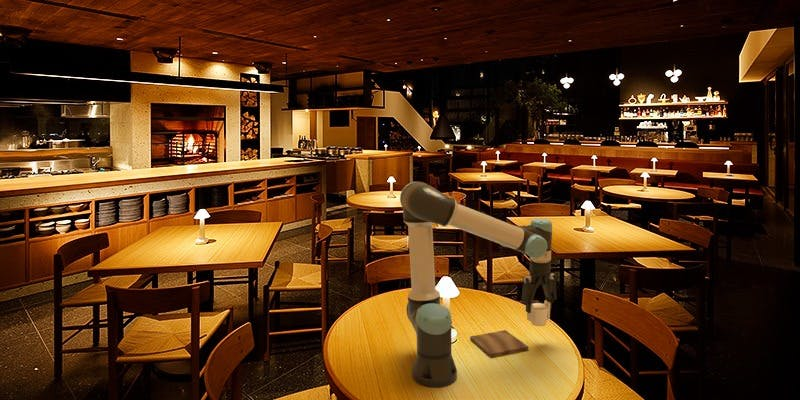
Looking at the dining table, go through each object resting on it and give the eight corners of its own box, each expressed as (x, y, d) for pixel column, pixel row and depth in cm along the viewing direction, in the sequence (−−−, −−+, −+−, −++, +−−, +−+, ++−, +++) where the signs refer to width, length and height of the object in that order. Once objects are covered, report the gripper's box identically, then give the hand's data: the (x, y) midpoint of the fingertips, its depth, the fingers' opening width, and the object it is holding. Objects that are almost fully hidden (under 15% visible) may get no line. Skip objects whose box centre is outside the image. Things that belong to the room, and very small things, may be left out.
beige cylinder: (549, 327, 174) (549, 309, 173) (530, 326, 175) (529, 308, 174) (547, 320, 180) (547, 302, 179) (528, 319, 182) (528, 302, 181)
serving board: (490, 357, 170) (490, 354, 170) (470, 340, 185) (470, 336, 185) (528, 350, 175) (528, 346, 175) (505, 333, 190) (505, 330, 190)
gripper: (523, 265, 168) (521, 326, 171) (568, 260, 174) (566, 319, 177) (511, 260, 175) (510, 319, 178) (556, 255, 181) (553, 312, 184)
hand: (538, 319), depth 177 cm, fingers closed on beige cylinder, 7 cm apart
